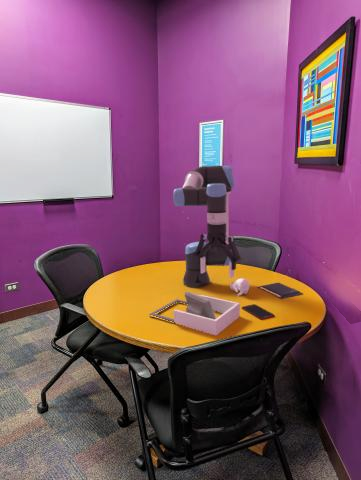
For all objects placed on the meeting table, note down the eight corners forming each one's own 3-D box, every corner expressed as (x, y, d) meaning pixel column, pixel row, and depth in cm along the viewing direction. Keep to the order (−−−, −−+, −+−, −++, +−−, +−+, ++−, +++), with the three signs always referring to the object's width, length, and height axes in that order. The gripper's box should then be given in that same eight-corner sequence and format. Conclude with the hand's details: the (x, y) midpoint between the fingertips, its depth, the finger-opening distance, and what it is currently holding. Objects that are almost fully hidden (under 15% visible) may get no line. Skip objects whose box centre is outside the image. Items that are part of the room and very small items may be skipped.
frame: (149, 316, 151) (149, 314, 151) (177, 301, 168) (177, 299, 168) (173, 323, 144) (173, 320, 144) (199, 306, 161) (199, 304, 160)
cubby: (174, 323, 143) (173, 310, 142) (200, 306, 160) (200, 294, 159) (215, 335, 132) (215, 321, 131) (239, 316, 149) (239, 303, 148)
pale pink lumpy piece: (240, 280, 169) (226, 276, 180) (241, 297, 170) (227, 292, 181) (250, 278, 172) (235, 274, 182) (251, 294, 173) (236, 290, 183)
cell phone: (254, 305, 161) (254, 303, 160) (275, 317, 148) (275, 315, 147) (240, 308, 158) (240, 306, 157) (260, 321, 144) (261, 318, 144)
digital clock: (217, 323, 143) (217, 299, 141) (198, 327, 139) (198, 303, 137) (199, 309, 157) (199, 287, 155) (181, 313, 154) (181, 291, 152)
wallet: (304, 292, 172) (280, 296, 166) (304, 295, 172) (280, 300, 167) (279, 280, 190) (256, 284, 185) (279, 284, 191) (256, 288, 185)
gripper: (185, 222, 139) (186, 272, 144) (241, 226, 125) (240, 282, 130) (195, 220, 145) (196, 268, 150) (249, 223, 131) (248, 276, 136)
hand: (216, 274), depth 140 cm, fingers open, 12 cm apart
